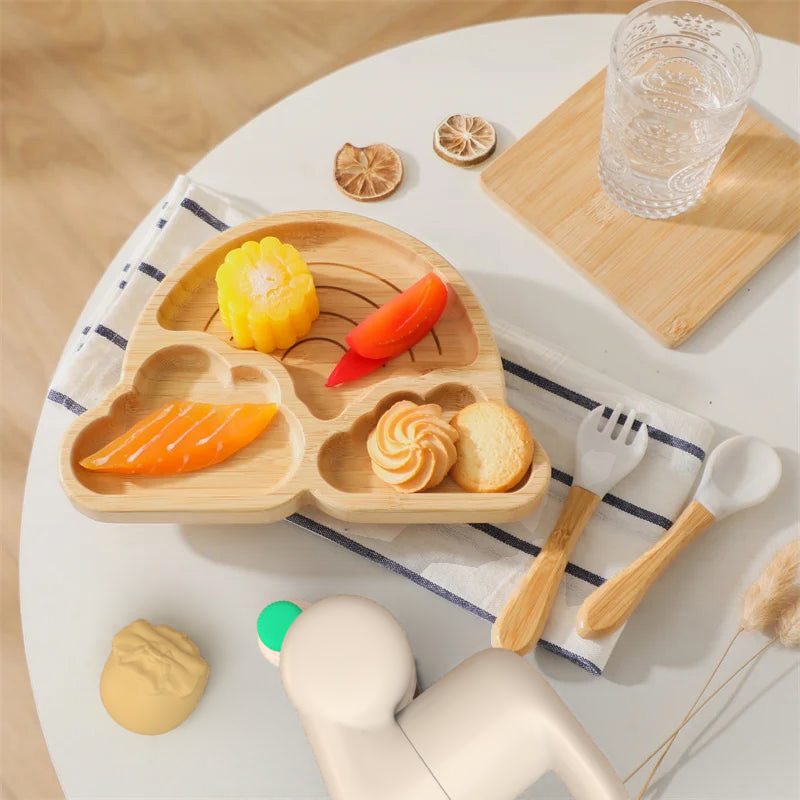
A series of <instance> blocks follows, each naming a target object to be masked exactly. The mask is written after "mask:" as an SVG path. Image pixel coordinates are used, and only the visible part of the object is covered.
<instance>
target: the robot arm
mask: <svg viewBox="0 0 800 800" xmlns="http://www.w3.org/2000/svg"><path fill="white" fill-rule="evenodd" d="M311 604H312V605H311V606H309V607H308V608H306V609H305V610H304V611H303V612H302V613H301V614H300V615H299V616H298V617H297V618H296V619H295V620H294V622H293V623H292V624H291V626H290V628H289V629H288V631H287V633H286V635H285V637H284V640H283V643H282V647H281V652H280V660H279V667H278V669H279V677H280V682H281V686H282V689H283V691H284V693H285V695H286V697H287V700H288V701H289V702H290V703H291V705H292V707H294V709H295V712H296V714H297V716H298V719H299V721H300V724H301V727H302V729H303V732H304V734H305V737H306V740H307V741H308V745H309V747H310V750H311V753H312V755H313V757H314V760H315V763H316V766H317V769H318V771H319V774H320V776H321V779H322V783H323V785H324V788H325V790H326V794H327V796H328V799H329V800H515V799H516V798H519V796H520V795H522V794H523V793H524V792H525V791H526V790H528V789H529V788H530V787H531V786H532V785H534V784H535V783H536V782H537V781H538V780H540V779H541V778H542V777H543V776H544V775H545V774H547V773H548V772H552V773H554V774H555V776H557V778H558V779H559V780H560V781H561V782H562V784H563V785H564V787H565V788H566V789H567V791H568V792H569V794H570V796H571V797H572V799H573V800H632V797H631V796H630V793H629V792H628V790H627V788H626V787H625V784H624V783H623V781H622V779H621V777H620V775H619V774H618V772H617V771H616V770H615V768H614V766H612V764H611V763H610V761H609V760H608V759H607V757H606V755H605V754H604V753H603V752H602V750H601V749H600V748H599V746H598V745H597V743H596V742H595V741H594V740H593V738H592V737H591V736H590V734H589V733H588V732H587V730H585V728H584V727H583V726H582V724H581V723H580V722H579V720H578V719H577V718H576V716H575V715H574V714H573V712H572V711H571V710H570V709H569V707H568V706H567V705H566V703H565V702H564V700H563V699H562V698H561V697H560V696H559V694H558V693H557V692H556V690H555V689H554V688H553V687H552V685H551V684H550V683H549V681H547V680H546V678H545V677H544V676H543V675H542V674H541V672H539V671H538V670H537V669H536V668H535V667H534V665H533V664H532V663H530V662H529V661H528V660H527V659H526V658H524V657H523V656H522V655H520V654H519V653H517V652H515V651H513V650H511V649H507V648H504V647H490V648H489V647H488V648H485V649H482V650H479V651H477V652H475V653H474V654H471V655H470V656H469V657H467V658H465V659H464V660H463V661H461V662H460V663H459V664H458V665H456V666H455V667H454V668H452V669H451V670H450V671H448V672H447V673H446V674H445V675H443V676H442V677H440V678H439V679H438V680H436V681H435V682H434V683H433V684H432V685H430V686H429V687H428V688H427V689H426V690H424V691H423V692H422V693H421V694H420V695H419V696H418V697H417V698H415V699H414V700H413V696H414V692H415V688H416V678H417V667H416V663H415V659H414V655H413V651H412V650H411V647H410V643H409V639H408V637H407V634H406V632H405V630H404V628H403V626H402V625H401V624H400V622H399V621H398V619H397V618H396V617H395V616H394V615H393V614H392V613H391V612H390V611H389V610H388V609H387V608H386V607H385V606H383V605H381V604H380V603H378V602H376V601H375V600H373V599H371V598H369V597H365V596H361V595H357V594H336V595H330V596H327V597H325V598H321V599H319V600H318V601H315V602H313V603H311Z"/></svg>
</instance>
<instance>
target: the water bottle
mask: <svg viewBox="0 0 800 800" xmlns="http://www.w3.org/2000/svg"><path fill="white" fill-rule="evenodd" d="M312 604H313V603H311V602H309V601H307V600H304V599H301V598H296V597H293V598H292V597H290V598H284V599H281V600H277V601H274V602H271V603H269V604H267V605H266V606H265V607H264V608H263V610H261V612H260V614H259V615H258V617H257V619H256V620H257V621H256V631H257V632H256V640H257V643H258V644H257V645H258V647H259V651H260V652H261V654H262V655H263V657H264V658H265V659H266V660H267V661H268V662H269V663H270V664H271V665H274V666H275V667H277V668H279V660H280V652H281V647H282V643H283V640H284V637H285V635H286V633H287V631H288V629H289V628H290V626H291V624H292V623H293V622H294V620H295V619H296V618H297V617H298V616H299V615H300V614H301V613H302V612H303V611H304V610H305V609H306V608H308V607H309V606H311V605H312Z"/></svg>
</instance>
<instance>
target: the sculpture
mask: <svg viewBox="0 0 800 800" xmlns="http://www.w3.org/2000/svg"><path fill="white" fill-rule="evenodd" d="M111 649H112V651H111V653H110V654H109V656H108V658H107V660H106V661H105V664H104V666H103V668H102V671H101V675H100V677H99V678H100V679H99V696H100V699H101V702H102V705H103V708H104V709H105V711H106V712H107V714H108V715H109V717H110V718H111V719H112V720H113V721H114V722H115V723H116V724H117V725H119V726H120V727H121V728H123V729H125V730H127V731H129V732H131V733H133V734H137V735H141V736H148V737H149V736H150V737H151V736H159V735H164V734H166V733H169V732H171V731H173V730H175V729H177V728H178V727H179V726H181V725H182V724H183V723H184V722H185V721H187V720H188V718H189V717H190V716H191V715H192V714H193V713H194V711H195V710H196V708H197V707H198V705H199V703H200V701H201V699H202V697H203V695H204V692H205V690H206V686H207V682H208V679H209V676H210V675H211V672H212V671H211V670H212V669H211V666H210V665H209V664H208V663H207V661H206V660H205V659H204V658H203V657H202V655H201V654H200V653H201V652H200V648H199V647H198V645H196V643H195V642H194V641H192V640H191V637H190V636H189V635H188V634H186V633H185V632H180V631H178V630H176V629H175V628H173V627H171V626H169V625H166V624H159V625H154V624H153V625H152V624H151V622H150V621H149V620H147V619H143V618H137V619H134V620H133V621H132V622H131V623H130V624H128V625H126V626H124V627H123V628H122V629H119V631H118V632H116V633H115V635H114V636H113V638H112V641H111Z"/></svg>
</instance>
